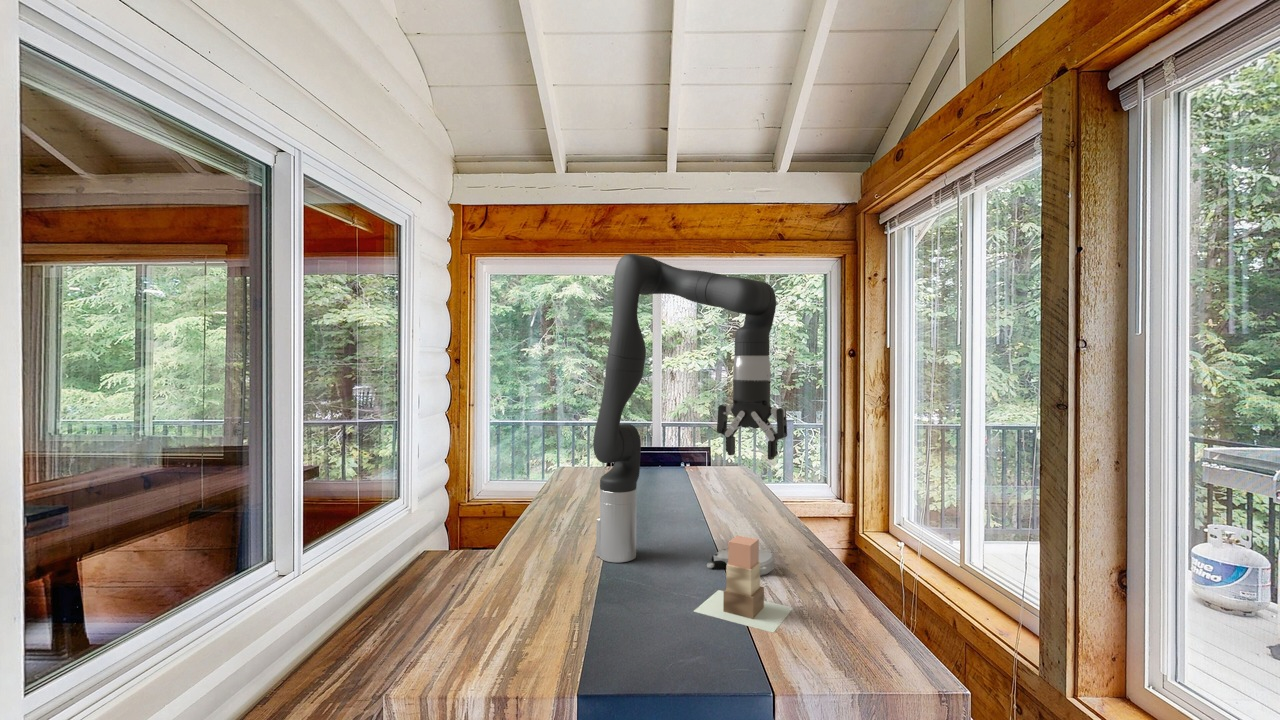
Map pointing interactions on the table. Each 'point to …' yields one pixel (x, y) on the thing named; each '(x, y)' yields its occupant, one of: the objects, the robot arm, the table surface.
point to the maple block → (743, 579)
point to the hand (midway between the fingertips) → (751, 456)
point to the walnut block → (744, 603)
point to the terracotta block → (743, 552)
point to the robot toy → (764, 558)
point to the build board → (763, 620)
